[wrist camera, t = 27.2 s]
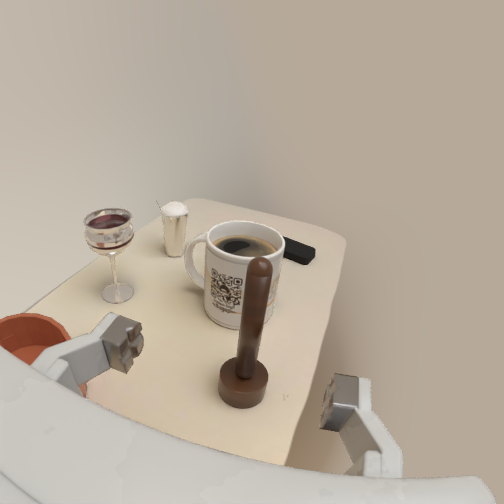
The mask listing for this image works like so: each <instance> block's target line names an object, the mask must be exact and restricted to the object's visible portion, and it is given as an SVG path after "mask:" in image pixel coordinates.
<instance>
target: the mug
mask: <svg viewBox="0 0 504 504" xmlns="http://www.w3.org/2000/svg"><path fill="white" fill-rule="evenodd" d="M199 242H205V243H206V246H205V274H204V278H203V277H202V276H201V275H200V274H199V273H198V272H197V270H196V268H195V266H194V263H193V249H194V246H195V245H196V243H199ZM284 250H285V240H284V238H283V236H282V235H281V234H280V233H279V232H278V231H276V230H275V229H273V228H271V227H269V226H267V225H264V224H261V223H257V222H251V221H227V222H222V223H219V224H217V225H215V226H213V227H211V228H210V229H209V230H208V232H207V233H202V234H199V235H197V236H196V237H195V238H193V239H192V240H191V241H190V242H189V243H188V245H187V247H186V249H185V254H184V262H185V267H186V270H187V272H188V275H189V276H190V278H191V279H192V281H193V282H194V283H195V284H196V285H197V286H199V287H200V288H202V289H204V309H205V312H206V313H207V315H208V316H209V317H210V318H211V319H212V320H213V321H214V322H216V323H217V324H219V325H221V326H224V327H227V328H230V329H237V330H240V322H241V314H242V305H243V297H244V289H245V280H246V272H247V266H248V263H249V262H250V261H251V260H252V259H253V258H255V257H265V258H267V259H268V260H269V261H270V262H271V264H272V266H273V274H272V280H271V285H270V291H269V297H268V302H267V308H266V313H265V319H264V323H266V322H267V321H268V320H269V318H270V317H271V315H272V313H273V308H274V303H275V298H276V292H277V287H278V282H279V277H280V271H281V266H282V261H283V255H284Z"/></svg>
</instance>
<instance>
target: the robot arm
mask: <svg viewBox="0 0 504 504" xmlns="http://www.w3.org/2000/svg"><path fill="white" fill-rule="evenodd" d="M141 330H142V326H141V323H139V322H136V321H134V320H131V319H128V318H126V317H123V316H121V315H118V314H115V313H113V312H110V313H108V314H107V315H106V316H105V317H104V318H103V319H102V320H101V322H100V323H99V324H98V325H97V326H96V327H95V329H94V330H93V331H92V332H91V333H90V334H88V333H86V334H84V335H81V336H78V337H76V338H73V339H70V340H68V341H65V342H62V343H60V344H57V345H54V346H51V347H49V348H46V349H45V350H44V351H43V352H42V353H41V354H40V355H39V356H38V357H37V359H36V360H35V361H34V362H33V363H32V364H31V365H30V366H29V365H28V364H26V363H25V362H23V361H22V360H20V359H19V358H17V357H16V356H14V355H13V354H11V353H10V352H8V351H7V350H6V349H4V348H3V347H1V346H0V504H496V499H495V496H494V495H493V493H492V492H491V491H490V489H489V488H488V487H487V486H486V485H485V483H484V482H483V481H482V480H481V479H480V478H479V477H478V476H475V475H466V476H454V477H437V478H403V452H402V451H401V449H400V448H399V446H398V445H397V443H396V442H395V440H394V439H393V438H392V436H391V435H390V433H389V432H388V430H387V429H386V427H385V426H384V425H383V423H382V422H381V420H380V419H379V417H378V416H377V414H376V413H375V412H372V410H371V381H370V379H367V378H361V377H355V376H349V375H343V374H337V373H334V374H333V376H332V378H331V383H330V384H329V385H328V386H327V388H326V390H325V394H324V398H323V403H322V407H323V409H324V411H323V413H322V415H321V419H320V429H325V430H330V431H335V432H339V434H340V436H341V439H342V441H343V443H344V445H345V447H346V449H347V451H348V453H349V455H350V457H351V460H352V462H353V465H352V466H351V468H349V469H348V470H347V471H346V472H345V473H344V474H343V475H341V474H333V473H325V472H317V471H311V470H304V469H298V468H292V467H287V466H282V465H276V464H272V463H267V462H262V461H258V460H254V459H249V458H245V457H241V456H237V455H234V454H230V453H226V452H223V451H219V450H216V449H212V448H209V447H206V446H203V445H199V444H196V443H193V442H190V441H187V440H184V439H181V438H178V437H175V436H173V435H170V434H167V433H164V432H162V431H159V430H156V429H154V428H151V427H149V426H146V425H144V424H141V423H139V422H137V421H134V420H132V419H130V418H127V417H125V416H123V415H120V414H118V413H116V412H114V411H112V410H110V409H107V408H105V407H103V406H101V405H99V404H97V403H95V402H93V401H91V400H89V399H87V398H85V397H83V394H82V392H81V390H80V388H79V386H80V385H81V384H83V383H85V382H87V381H89V380H90V379H92V378H94V377H96V376H98V375H100V374H101V373H103V372H105V371H107V370H108V369H110V368H113V369H115V370H118V371H120V372H123V373H126V374H127V372H128V371H129V369H130V368H131V366H132V365H133V358H135V357H138V356H139V354H140V353H141V351H142V348H143V344H144V338H143V336H142V334H141V333H140V331H141Z"/></svg>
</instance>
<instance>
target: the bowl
mask: <svg viewBox="0 0 504 504" xmlns="http://www.w3.org/2000/svg"><path fill="white" fill-rule="evenodd" d="M70 339H71V338H70V336H69V335H68V333H67V331H66V330H65V328H64V327H63V326H62V325H61V324H59V323H58V322H56V321H55V320H54V319H52V318H50V317H47V316H44V315H40V314H37V313H20V314H16V315H11V316H7V317H5V318H3V319H0V346H1V347H3V348H4V349H6V350H7V351H8V352H10V353H11V354H13V355H14V356H16V357H17V358H19V359H20V360H22V361H23V362H25V363H26V364H28V365H29V366H30V365H31V364H32V363H33V362H34V361H35V360H36V359H37V357H38V356H39V355H40V354H41V353H42V352H43V351H44V350H45V349H46V348H49V347H51V346H54V345H57V344H60V343H62V342H65V341H68V340H70ZM79 388H80V390H81V392H82V394H83V397H86V382H85V383H83V384H81V385H80V386H79Z"/></svg>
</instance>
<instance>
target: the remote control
mask: <svg viewBox="0 0 504 504" xmlns="http://www.w3.org/2000/svg"><path fill="white" fill-rule="evenodd" d="M283 238H284V240H285V250H284V255H283V256H284V257H286V258H289V259H291V260H294V261H296V262H299V263H301V264H309V263H310V262H311V260H312V259H313V258H314V257H315V249H314V248H313V247H310V246H308V245H305V244H302V243H300V242H297V241H294V240H292V239H289V238H286V237H284V236H283Z"/></svg>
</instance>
